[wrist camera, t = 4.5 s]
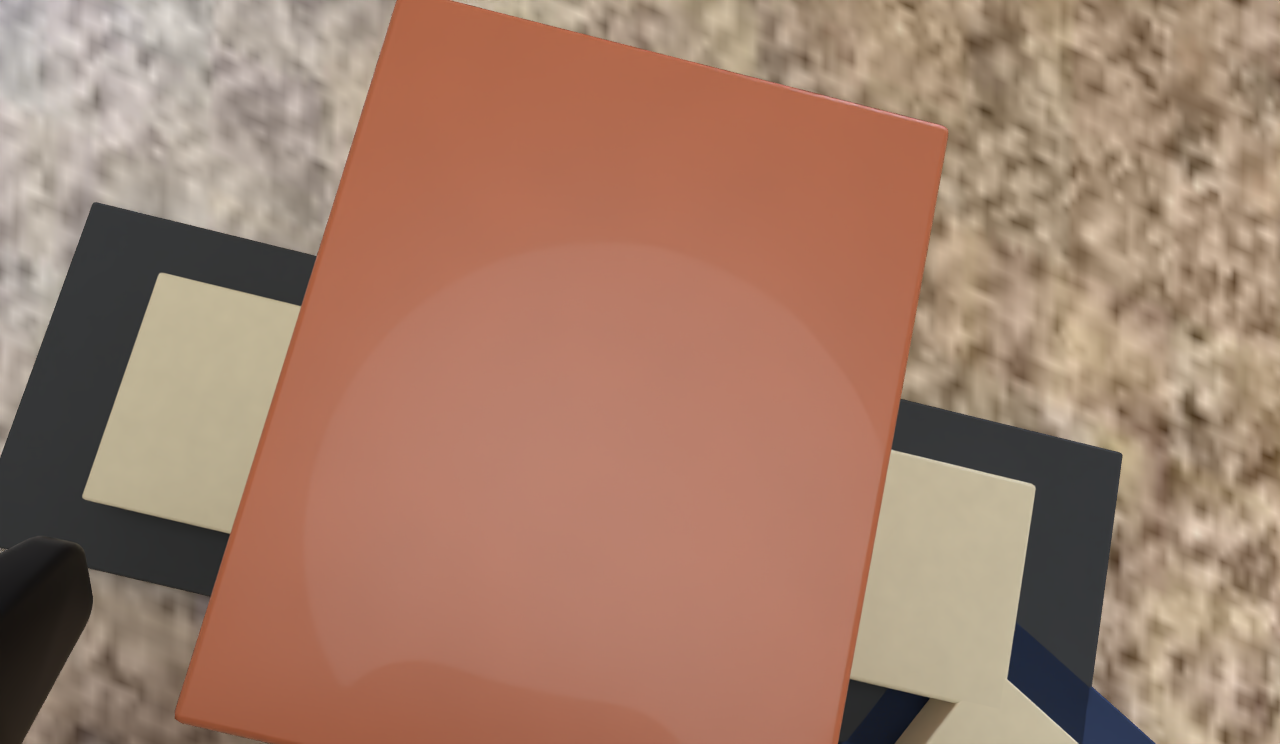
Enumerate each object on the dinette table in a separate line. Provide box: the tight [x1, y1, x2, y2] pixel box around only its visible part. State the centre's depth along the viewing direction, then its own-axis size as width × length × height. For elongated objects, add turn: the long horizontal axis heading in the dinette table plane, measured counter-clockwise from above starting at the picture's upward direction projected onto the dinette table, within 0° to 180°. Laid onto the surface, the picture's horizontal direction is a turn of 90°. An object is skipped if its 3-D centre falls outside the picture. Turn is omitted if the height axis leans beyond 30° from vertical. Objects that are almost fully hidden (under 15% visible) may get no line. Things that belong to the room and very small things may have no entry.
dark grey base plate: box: [0, 202, 1122, 744], centre depth 19 cm, size 22×7×2 cm, turn 77°
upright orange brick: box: [175, 0, 948, 744], centre depth 13 cm, size 5×4×13 cm
